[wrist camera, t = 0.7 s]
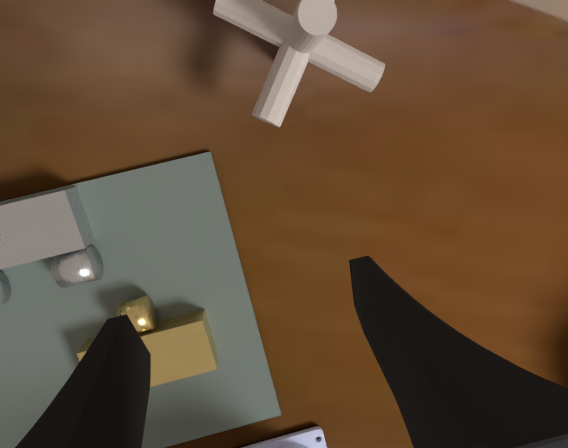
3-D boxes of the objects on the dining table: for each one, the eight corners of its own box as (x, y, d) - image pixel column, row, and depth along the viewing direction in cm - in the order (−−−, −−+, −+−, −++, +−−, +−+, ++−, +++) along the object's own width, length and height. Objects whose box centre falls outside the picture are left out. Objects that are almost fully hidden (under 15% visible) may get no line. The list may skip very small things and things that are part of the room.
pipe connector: (195, 93, 28) (172, 70, 18) (251, -52, 27) (259, -160, 17) (324, 152, 30) (365, 160, 20) (384, 19, 29) (459, -41, 19)
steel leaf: (-19, 304, 29) (-41, 319, 27) (-56, 218, 28) (-83, 225, 25) (106, 273, 30) (95, 284, 27) (76, 186, 28) (62, 191, 26)
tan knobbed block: (104, 385, 32) (93, 405, 29) (75, 309, 30) (61, 324, 28) (218, 354, 32) (217, 372, 30) (195, 278, 31) (192, 290, 28)
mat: (280, 412, 34) (281, 415, 34) (14, 486, 33) (12, 489, 33) (210, 151, 29) (210, 151, 29) (-107, 227, 28) (-110, 228, 28)
